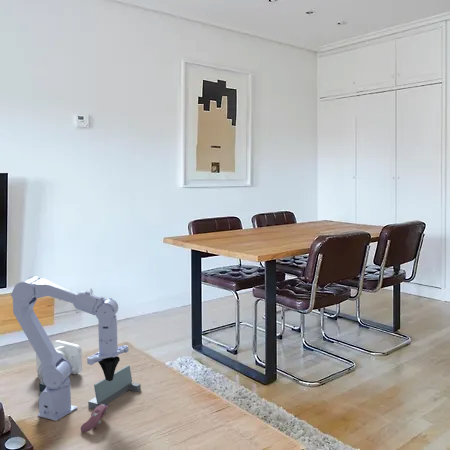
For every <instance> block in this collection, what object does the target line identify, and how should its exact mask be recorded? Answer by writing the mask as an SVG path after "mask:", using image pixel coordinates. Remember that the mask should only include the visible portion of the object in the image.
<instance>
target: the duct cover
mask: <svg viewBox="0 0 450 450" xmlns="http://www.w3.org/2000/svg"><path fill="white" fill-rule="evenodd" d="M131 371H132V370H131V367H130V365H129V364H128V365H125V366H124V367H122V368H121V369H119V370H117V371H115V372H114V377H113V380H111V381H107V380H106V379H105V378H103V379H102V380H99V381H98V382H96V383H95V384H93V387H94V388H93V389H94V393H95V397H96V400H97V403H100V402H102V401H103V400H105V399H106V398H108V397H109V396H111V395H113V394H114V393H116V392H117V391H119V390H121V389H122V388H124V387H125V386H127V385H128V384H130V383H133V378H132V372H131Z"/></svg>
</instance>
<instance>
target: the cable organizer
mask: <svg viewBox="0 0 450 450" xmlns="http://www.w3.org/2000/svg"><path fill="white" fill-rule="evenodd" d="M51 343H52V344H53V346H54V348H55V350H56V351H57V352H58V353H60V354H62V355H63V357H64V358H65V359H66V360H68V361H69V362H70V363H71V365H72V372H71V374H72V375H73V374H74V375H77V374H79V373H81V372H82V371H83V357H82V348H81V346H80V345H79V344H77V343H73V342H68V341H64V340H59V339H57V340H54V341H51ZM35 363H36V373H37V374H38V368H39V366H40V365H41V361H40V359H39V357H38V356H37V354H36V353H35ZM71 374H70V375H71Z"/></svg>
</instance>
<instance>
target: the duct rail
mask: <svg viewBox="0 0 450 450" xmlns="http://www.w3.org/2000/svg"><path fill="white" fill-rule="evenodd" d="M141 386H142V384H141V383H138V382H132V383H130V384H128V385H127V386H125V387H124V388H122V389H121V390H119V391H117V392H116V393H114V394H113V395H111V396H109V397H108V398H106V399H105V400H103V401H102V402H100V403H97V400H96V396H95V397H93V398H91V399H90V400H88V401H87V403H88V404H87V405H88V407H87V408H89V409H95V408H96V407H98V406H99V405H101V404H103V405H108V404H109V403H111V402H112V401H114V400H116V399H117V398H119V397H120V396H122V395H124V394H125V393H127V392H128V391H129V390H130V391H131V392H134V393H138V392H140V391H142V388H141Z"/></svg>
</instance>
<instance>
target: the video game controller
mask: <svg viewBox="0 0 450 450" xmlns="http://www.w3.org/2000/svg"><path fill="white" fill-rule="evenodd" d="M108 409H109V406H108V404H106V405H103V404H101V405H99V406H98V407H96V408H95V409H94V410H93V411H92V412H91V414H90V417H89V419H88V420H87V421H85V422H83V424H82V425H81V426H80V432H81V433H87V432H90V431H92V430H93V429H94V430H95V429H96V428H97V426H98V425H100V424H101V423H102V422H103V420H104V419H103V418H104V416H105V415H106V414H107V411H108Z"/></svg>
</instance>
